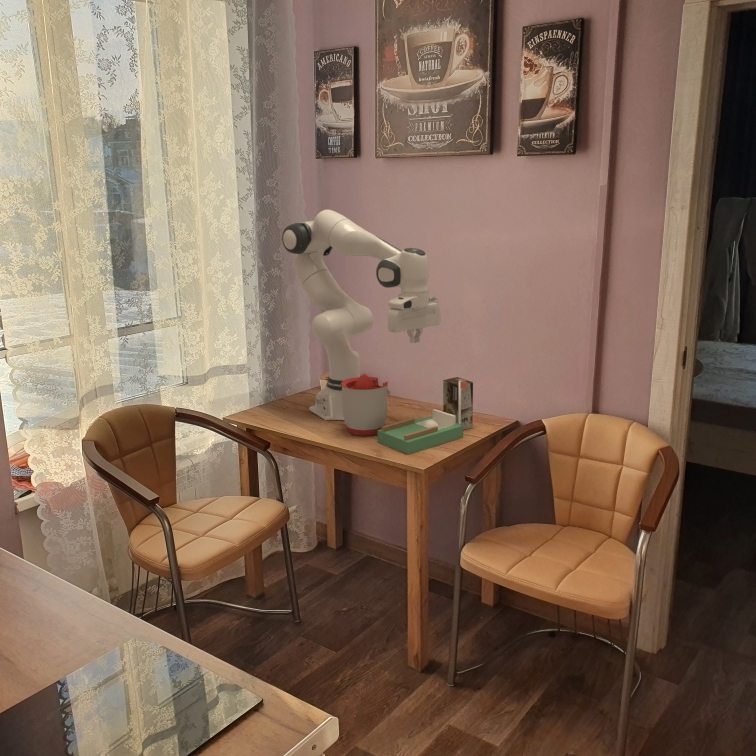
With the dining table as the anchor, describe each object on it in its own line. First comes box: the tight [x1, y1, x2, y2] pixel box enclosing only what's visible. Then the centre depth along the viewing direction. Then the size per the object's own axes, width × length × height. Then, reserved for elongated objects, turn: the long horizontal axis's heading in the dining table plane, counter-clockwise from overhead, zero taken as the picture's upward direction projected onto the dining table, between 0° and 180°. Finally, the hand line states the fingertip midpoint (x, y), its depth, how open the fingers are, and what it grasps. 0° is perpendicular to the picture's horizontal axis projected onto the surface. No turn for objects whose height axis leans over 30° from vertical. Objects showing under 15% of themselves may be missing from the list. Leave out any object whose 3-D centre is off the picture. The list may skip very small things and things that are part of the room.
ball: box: [423, 420, 438, 428], centre depth 257 cm, size 5×5×5 cm
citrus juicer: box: [341, 373, 391, 437], centre depth 261 cm, size 16×17×20 cm
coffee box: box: [442, 377, 474, 431], centre depth 265 cm, size 9×6×16 cm
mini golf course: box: [377, 381, 467, 455], centre depth 251 cm, size 17×24×19 cm
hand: (414, 342), depth 252 cm, fingers closed
